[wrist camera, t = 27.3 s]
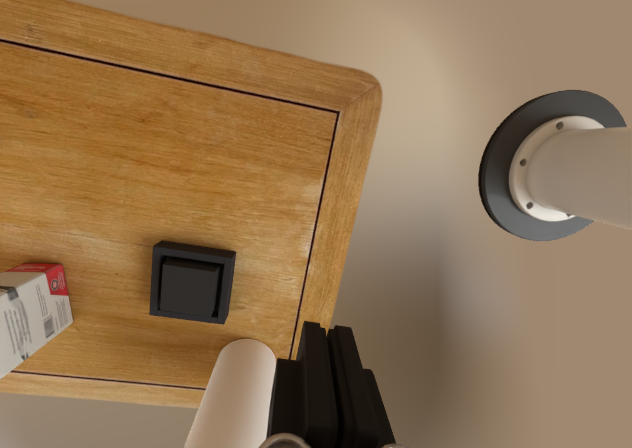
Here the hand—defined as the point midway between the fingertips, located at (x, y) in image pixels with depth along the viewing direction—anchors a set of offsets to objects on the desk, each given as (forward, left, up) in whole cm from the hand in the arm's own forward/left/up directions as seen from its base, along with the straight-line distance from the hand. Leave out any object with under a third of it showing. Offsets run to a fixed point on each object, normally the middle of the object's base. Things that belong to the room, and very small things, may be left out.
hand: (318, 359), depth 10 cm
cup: (+4, +24, -27) cm, 37 cm away
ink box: (+30, +17, -27) cm, 44 cm away
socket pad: (+12, +12, -27) cm, 32 cm away
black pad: (+12, +12, -26) cm, 31 cm away
